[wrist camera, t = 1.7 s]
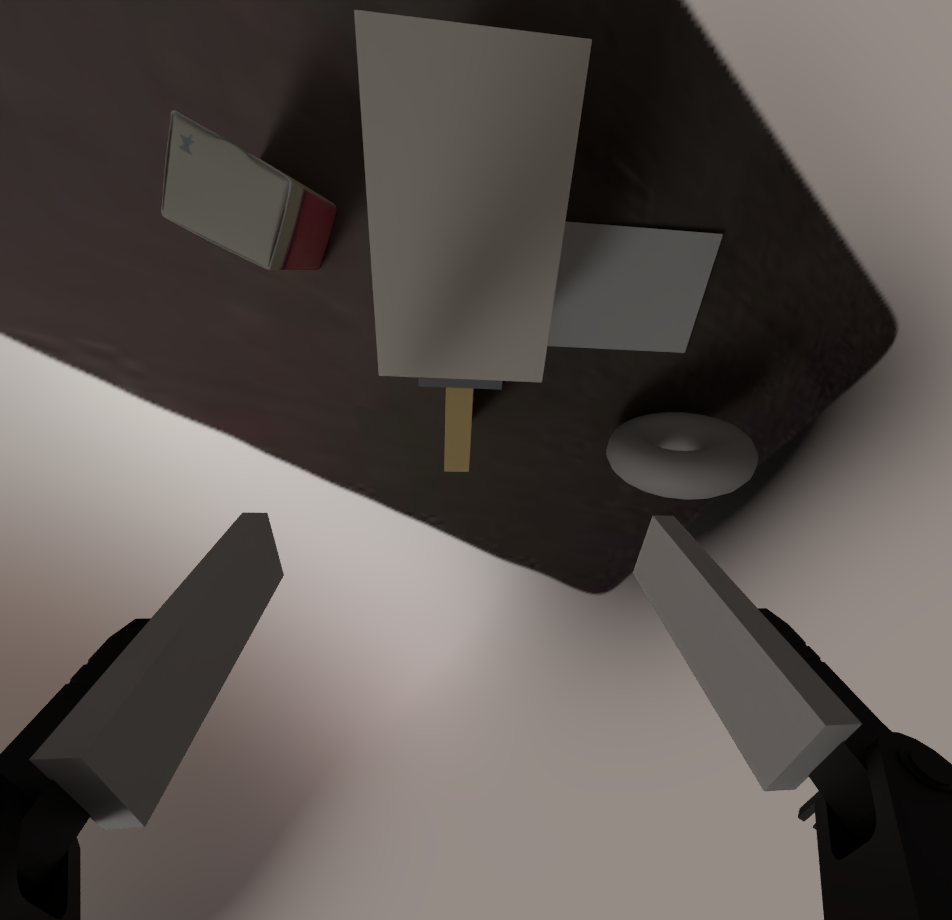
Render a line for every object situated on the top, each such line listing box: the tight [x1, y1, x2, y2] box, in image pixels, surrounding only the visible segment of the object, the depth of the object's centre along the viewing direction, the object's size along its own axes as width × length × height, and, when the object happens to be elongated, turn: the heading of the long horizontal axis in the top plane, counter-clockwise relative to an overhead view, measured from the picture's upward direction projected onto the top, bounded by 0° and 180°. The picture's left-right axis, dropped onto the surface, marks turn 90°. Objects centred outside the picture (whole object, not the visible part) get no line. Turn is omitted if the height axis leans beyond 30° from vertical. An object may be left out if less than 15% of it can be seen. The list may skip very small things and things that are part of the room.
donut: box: [606, 412, 758, 500], centre depth 27 cm, size 10×3×10 cm, turn 98°
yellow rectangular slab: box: [444, 387, 473, 472], centre depth 25 cm, size 2×11×8 cm, turn 177°
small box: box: [161, 110, 337, 270], centre depth 20 cm, size 5×4×8 cm
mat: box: [547, 222, 723, 353], centre depth 26 cm, size 12×8×1 cm, turn 87°
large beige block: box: [354, 10, 592, 390], centre depth 20 cm, size 8×13×11 cm, turn 177°
